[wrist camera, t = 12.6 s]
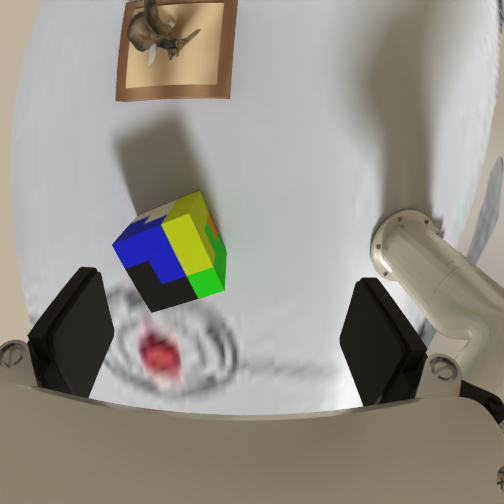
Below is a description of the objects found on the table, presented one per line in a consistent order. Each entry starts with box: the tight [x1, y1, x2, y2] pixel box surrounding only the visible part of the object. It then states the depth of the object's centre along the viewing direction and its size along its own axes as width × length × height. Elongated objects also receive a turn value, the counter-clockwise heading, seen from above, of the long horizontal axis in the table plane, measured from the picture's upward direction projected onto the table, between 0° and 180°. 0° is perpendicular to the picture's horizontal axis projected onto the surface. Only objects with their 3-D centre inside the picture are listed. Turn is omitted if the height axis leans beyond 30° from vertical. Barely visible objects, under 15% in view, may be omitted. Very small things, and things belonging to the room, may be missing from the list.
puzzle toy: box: [112, 190, 227, 313], centre depth 37 cm, size 10×10×10 cm
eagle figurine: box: [127, 0, 200, 66], centre depth 23 cm, size 8×7×9 cm
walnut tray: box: [116, 0, 238, 102], centre depth 28 cm, size 14×14×4 cm
